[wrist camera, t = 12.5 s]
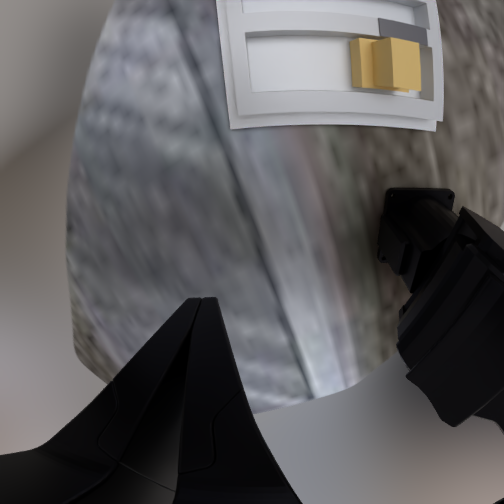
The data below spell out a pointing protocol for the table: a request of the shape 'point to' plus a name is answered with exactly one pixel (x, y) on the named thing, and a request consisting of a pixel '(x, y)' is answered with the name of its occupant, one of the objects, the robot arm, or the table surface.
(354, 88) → the switch bank
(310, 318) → the table surface
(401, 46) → the tab
